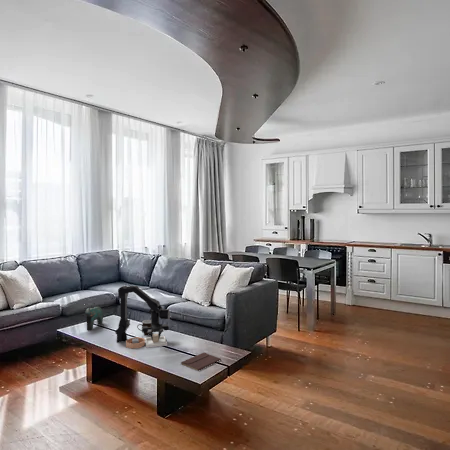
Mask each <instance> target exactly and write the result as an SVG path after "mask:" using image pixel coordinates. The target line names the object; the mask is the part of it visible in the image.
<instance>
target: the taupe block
mask: <svg viewBox="0 0 450 450" xmlns="http://www.w3.org/2000/svg"><path fill="white" fill-rule="evenodd" d="M152 337H153V342H159V336H158V333H153V334H152Z"/></svg>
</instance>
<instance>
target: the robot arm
mask: <svg viewBox="0 0 450 450" xmlns="http://www.w3.org/2000/svg"><path fill="white" fill-rule="evenodd" d="M117 292H118V293H117V294H118V297H119V299H120V300H119V301H120V302H119V303H120V306H119V307H120V312H119V313H120V318H119V319H120V320H119V322H118V326H117V327H118V328H117V329H116V330H115V331H114V332H115V335H116V343H126V340H128V333H127V332H126V331H128V329H129V328H130V326H131V323H130V322H131V320H130V319H128V296H129V293H134V294H135V295H137V297H139V298H140V299H141V300H142V301H144V302H145V303H146V305H147V306H148V307H149V310H148V311H147V313H148V314H149V313H150V320H151V327H147V326H143V327H142V326H141V330H142V331H141V332H142V334H144V332H147V333H149V334H150V335H149V337H151V339H152V341H153V337H152V331H153V333H157V334H158V336H159V338H160V336H162V335H161V334H162V333H163V332H164V331H169V330H170V327H169V324H168V323H167V324H162V323H160V319H161V320H170V318H171V312H170V309H167V308H166V309H164V307H162V305H161V303H160V301H159V300H158V299H156V298H153V297H150V295H149V294H147V293H146V292H145V291H143V290H142V289H141V288H139V286H138V285H125V284H124V285H123V286H120V287H119V288H118V290H117ZM151 330H152V331H151Z"/></svg>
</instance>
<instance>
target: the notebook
mask: <svg viewBox="0 0 450 450" xmlns="http://www.w3.org/2000/svg"><path fill="white" fill-rule="evenodd" d="M219 360H221V358H219V357H217V356H214V355H212V354H209V353H207V352H201V353H199V354H197V355H195V356H192V357H190V358H187V359H185V360H183V361H181V362H180V365H182V366H184V367H187V368H190V369H193V370H194V371H197V372H199V370H200V371H202V370H204V369H206V368H208V367H210V366H212V365H214V364H216V363H218V362H217V361H219ZM215 362H216V363H215ZM219 362H220V361H219ZM213 363H214V364H213ZM211 364H212V365H211ZM209 365H210V366H209ZM207 366H208V367H207ZM205 367H206V368H205ZM203 368H204V369H203ZM201 369H202V370H201Z"/></svg>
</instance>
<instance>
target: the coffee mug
mask: <svg viewBox="0 0 450 450" xmlns="http://www.w3.org/2000/svg"><path fill="white" fill-rule="evenodd" d="M141 323H142V324H141ZM141 323H138V324H137V327H136V328H137V329H138V331H141V332H142V329H141V328H142V327H143V326H147V327H151V319H144V320H142V322H141ZM139 326H141V328H139ZM151 331H152V330H151ZM152 334H154V332H153V331H152ZM143 335H144V336H150V334H149V333H147V332H144V333H143Z"/></svg>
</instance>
